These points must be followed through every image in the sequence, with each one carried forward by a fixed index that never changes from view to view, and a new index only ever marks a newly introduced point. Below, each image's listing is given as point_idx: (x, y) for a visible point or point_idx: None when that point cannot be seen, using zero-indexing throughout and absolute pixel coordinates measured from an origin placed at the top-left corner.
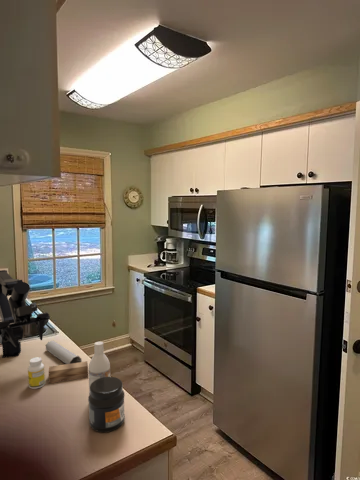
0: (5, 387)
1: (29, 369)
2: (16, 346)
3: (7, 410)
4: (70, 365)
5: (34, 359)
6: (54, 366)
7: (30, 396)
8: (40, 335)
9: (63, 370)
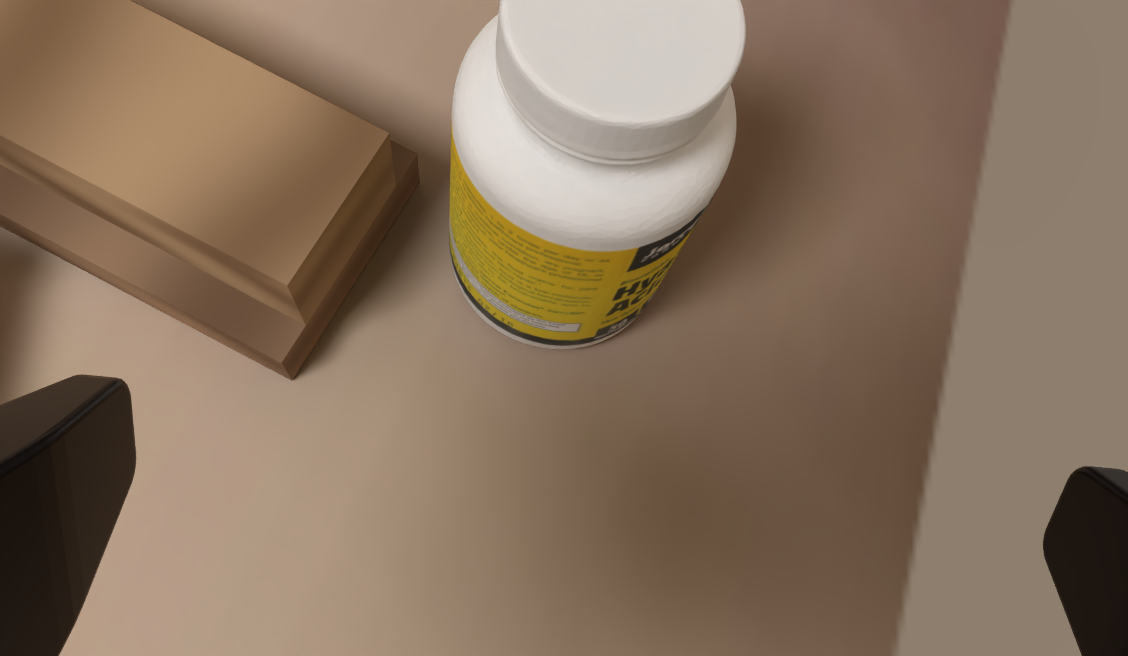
0: (906, 520)
1: (730, 85)
2: (1055, 509)
3: (980, 15)
4: (7, 55)
5: (639, 37)
6: (217, 222)
7: None
8: (43, 458)
9: (182, 37)
